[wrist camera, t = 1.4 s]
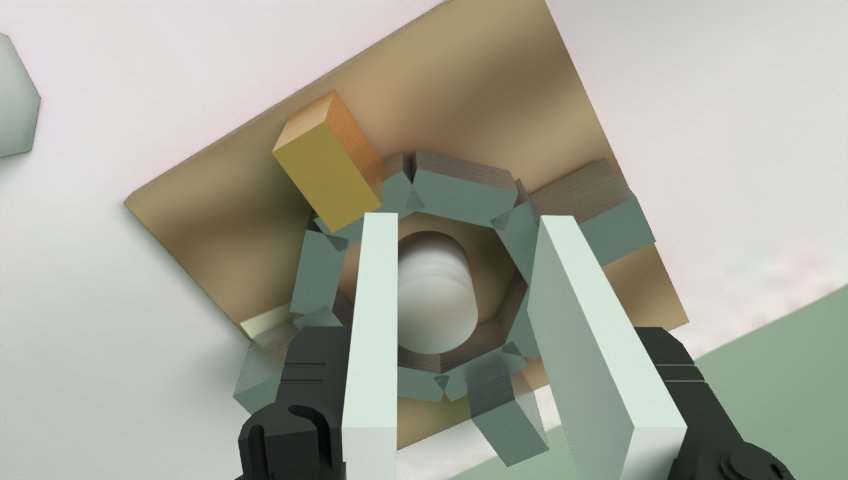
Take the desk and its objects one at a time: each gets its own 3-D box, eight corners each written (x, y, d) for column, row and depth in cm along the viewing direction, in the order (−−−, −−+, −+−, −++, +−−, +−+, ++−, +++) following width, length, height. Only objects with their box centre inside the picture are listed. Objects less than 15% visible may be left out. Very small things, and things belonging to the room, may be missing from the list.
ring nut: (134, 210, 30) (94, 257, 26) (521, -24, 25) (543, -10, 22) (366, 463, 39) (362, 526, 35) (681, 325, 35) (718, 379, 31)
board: (132, 192, 31) (82, 248, 26) (520, -46, 27) (548, -32, 22) (365, 450, 41) (360, 526, 36) (681, 309, 36) (725, 375, 31)
